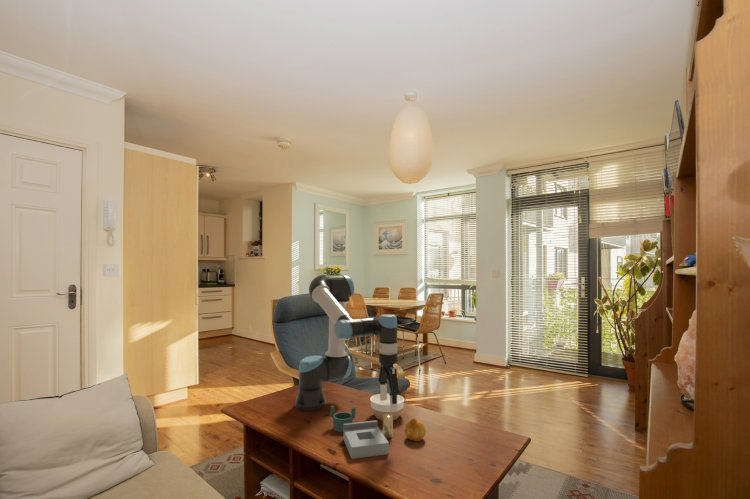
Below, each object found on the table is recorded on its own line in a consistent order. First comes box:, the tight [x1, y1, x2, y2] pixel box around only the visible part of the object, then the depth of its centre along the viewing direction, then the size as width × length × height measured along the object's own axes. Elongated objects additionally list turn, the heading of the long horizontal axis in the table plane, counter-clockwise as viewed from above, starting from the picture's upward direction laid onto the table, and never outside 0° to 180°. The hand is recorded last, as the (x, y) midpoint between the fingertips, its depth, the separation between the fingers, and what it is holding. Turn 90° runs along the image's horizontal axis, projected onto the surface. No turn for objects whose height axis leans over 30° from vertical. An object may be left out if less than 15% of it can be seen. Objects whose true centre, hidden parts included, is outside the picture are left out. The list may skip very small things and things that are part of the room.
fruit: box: [404, 418, 427, 442], centre depth 151 cm, size 8×8×8 cm
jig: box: [342, 420, 390, 460], centre depth 145 cm, size 16×14×6 cm
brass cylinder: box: [382, 414, 394, 439], centre depth 153 cm, size 4×4×8 cm
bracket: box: [330, 405, 356, 433], centre depth 161 cm, size 9×9×9 cm
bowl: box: [369, 392, 405, 421], centre depth 174 cm, size 16×16×8 cm
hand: (388, 405), depth 153 cm, fingers open, 13 cm apart
